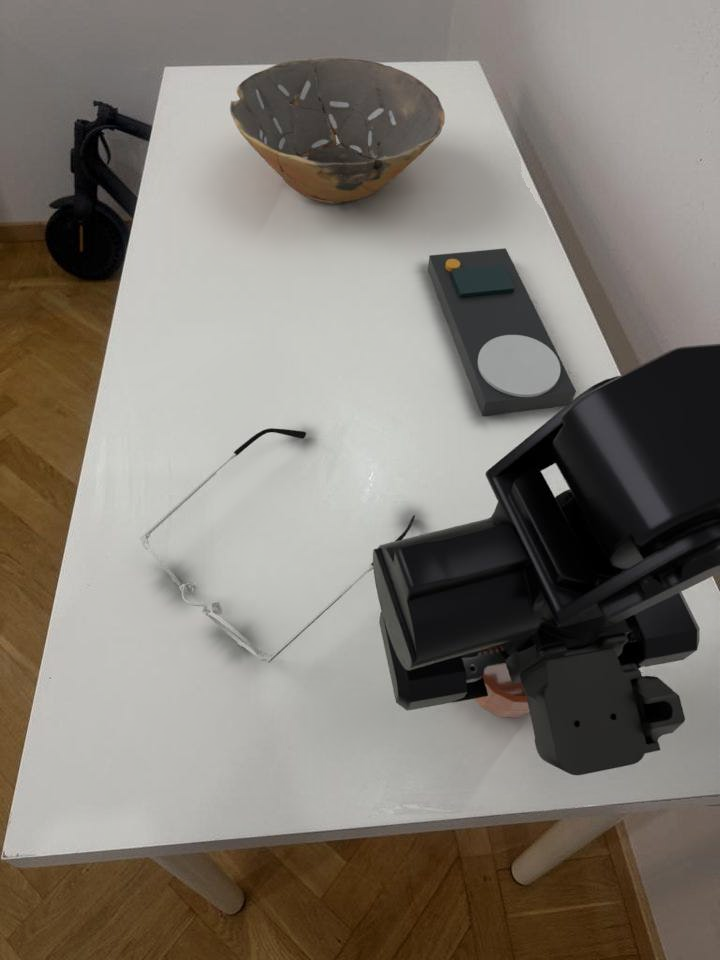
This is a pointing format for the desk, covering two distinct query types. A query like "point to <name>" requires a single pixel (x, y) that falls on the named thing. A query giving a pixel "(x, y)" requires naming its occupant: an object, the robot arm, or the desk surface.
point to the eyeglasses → (215, 604)
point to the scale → (498, 333)
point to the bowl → (337, 124)
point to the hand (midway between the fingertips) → (506, 671)
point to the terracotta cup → (503, 693)
